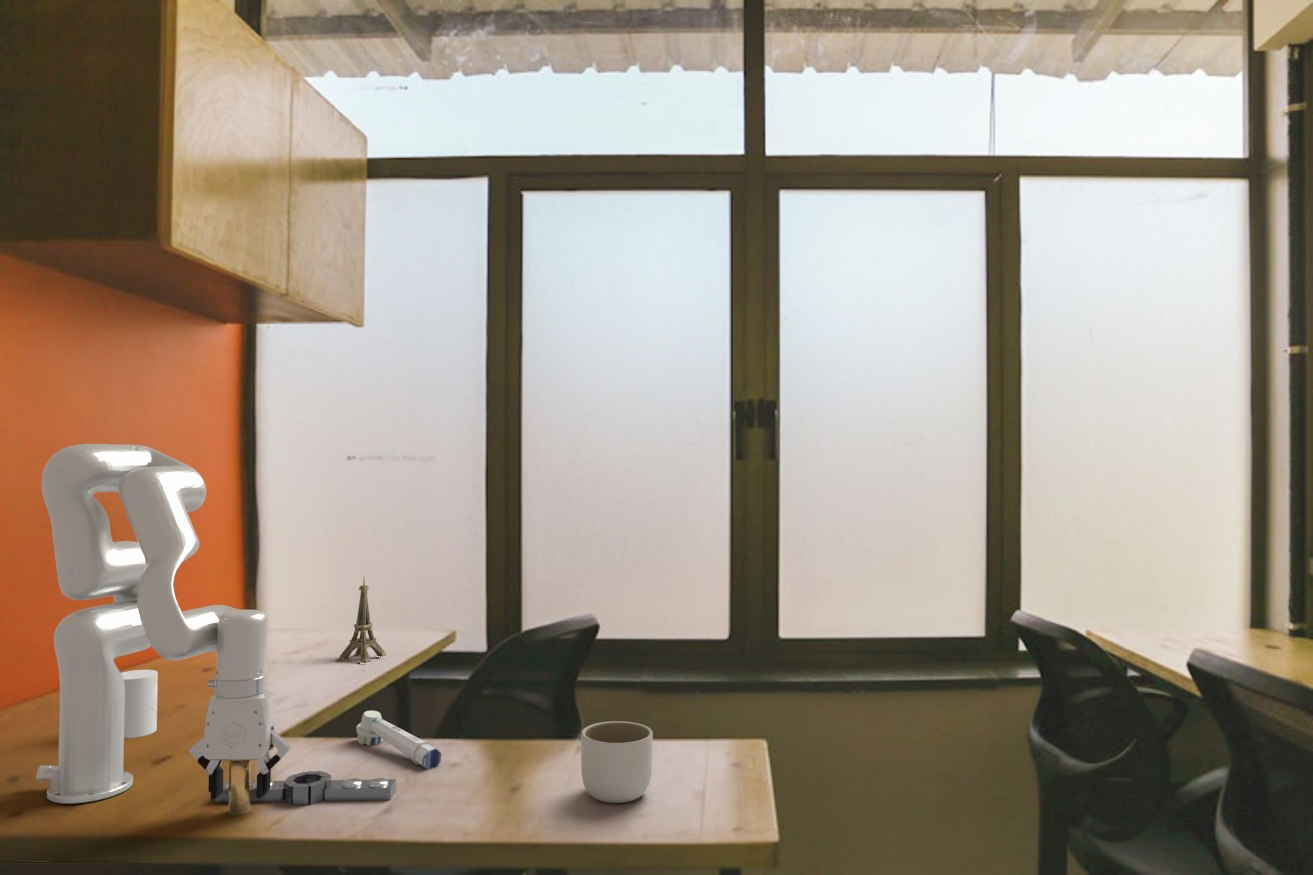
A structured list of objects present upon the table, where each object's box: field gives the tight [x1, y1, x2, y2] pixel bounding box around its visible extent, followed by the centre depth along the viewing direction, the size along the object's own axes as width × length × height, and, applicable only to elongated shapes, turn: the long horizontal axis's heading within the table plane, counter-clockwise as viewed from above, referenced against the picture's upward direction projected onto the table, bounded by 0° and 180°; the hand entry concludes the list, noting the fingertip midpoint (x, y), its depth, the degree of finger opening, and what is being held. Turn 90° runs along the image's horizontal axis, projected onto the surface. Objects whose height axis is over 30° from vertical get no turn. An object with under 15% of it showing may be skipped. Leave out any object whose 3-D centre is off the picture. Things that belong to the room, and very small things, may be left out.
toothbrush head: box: [355, 710, 443, 770], centre depth 174 cm, size 5×7×25 cm
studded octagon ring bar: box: [214, 770, 397, 806], centre depth 151 cm, size 29×7×3 cm, turn 94°
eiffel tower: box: [334, 575, 387, 663], centre depth 250 cm, size 11×11×25 cm
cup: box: [120, 669, 159, 739], centre depth 184 cm, size 8×8×12 cm
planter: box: [580, 720, 654, 804], centre depth 154 cm, size 12×12×11 cm
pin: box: [227, 760, 252, 817], centre depth 145 cm, size 3×3×9 cm
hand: (239, 794), depth 145 cm, fingers open, 6 cm apart
